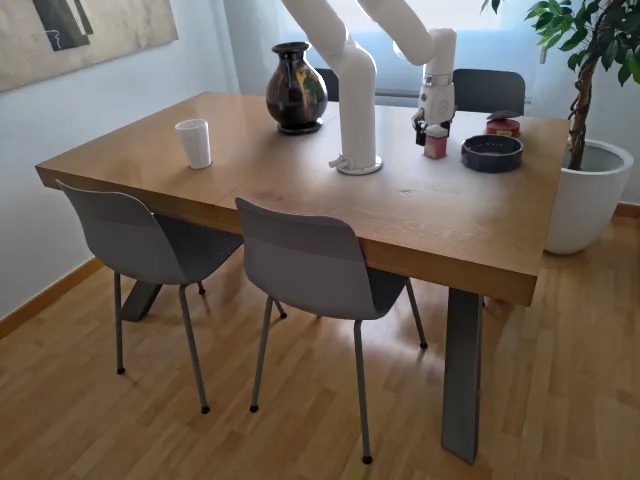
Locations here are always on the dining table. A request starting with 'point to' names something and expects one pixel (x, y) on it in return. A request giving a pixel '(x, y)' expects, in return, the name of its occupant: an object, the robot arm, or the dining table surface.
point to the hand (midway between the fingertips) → (432, 140)
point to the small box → (435, 142)
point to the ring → (491, 143)
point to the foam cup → (195, 142)
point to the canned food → (503, 123)
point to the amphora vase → (295, 91)
